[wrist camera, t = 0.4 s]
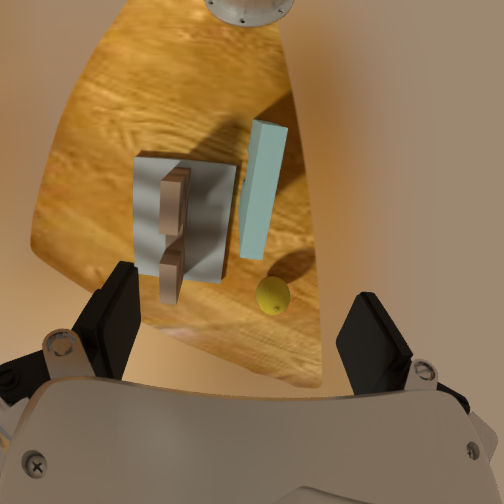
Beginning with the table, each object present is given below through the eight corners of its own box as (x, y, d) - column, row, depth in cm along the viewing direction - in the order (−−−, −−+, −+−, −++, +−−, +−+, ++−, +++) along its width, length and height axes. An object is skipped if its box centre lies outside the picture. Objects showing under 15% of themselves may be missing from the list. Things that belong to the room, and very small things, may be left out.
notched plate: (253, 119, 35) (262, 123, 23) (270, 121, 36) (288, 128, 24) (238, 210, 42) (239, 257, 30) (254, 212, 42) (262, 259, 30)
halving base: (136, 156, 37) (112, 169, 29) (236, 164, 39) (236, 180, 31) (137, 270, 46) (121, 302, 38) (220, 280, 48) (218, 315, 40)
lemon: (248, 277, 48) (250, 307, 41) (276, 262, 47) (283, 290, 40) (264, 298, 50) (269, 328, 43) (291, 284, 49) (299, 313, 42)
